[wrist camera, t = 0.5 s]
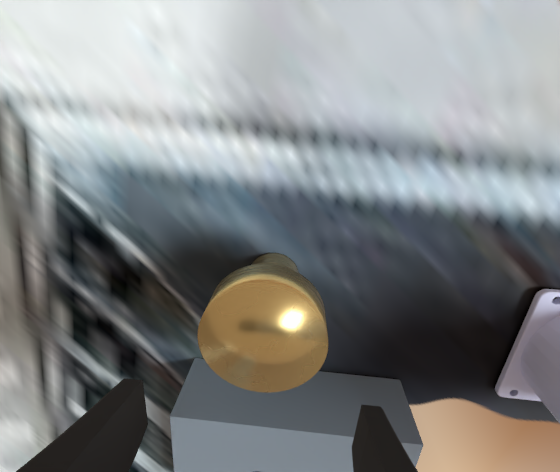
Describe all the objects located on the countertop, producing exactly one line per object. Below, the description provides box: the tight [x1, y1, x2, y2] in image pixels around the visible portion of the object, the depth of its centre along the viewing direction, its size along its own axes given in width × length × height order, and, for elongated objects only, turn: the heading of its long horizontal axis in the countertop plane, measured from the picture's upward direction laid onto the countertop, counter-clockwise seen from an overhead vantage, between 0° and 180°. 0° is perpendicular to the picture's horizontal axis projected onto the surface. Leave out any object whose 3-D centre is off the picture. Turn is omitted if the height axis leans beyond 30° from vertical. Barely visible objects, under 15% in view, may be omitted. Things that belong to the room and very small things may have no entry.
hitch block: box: [170, 358, 423, 472], centre depth 22 cm, size 14×12×4 cm
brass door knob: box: [198, 253, 328, 393], centre depth 16 cm, size 6×6×6 cm
